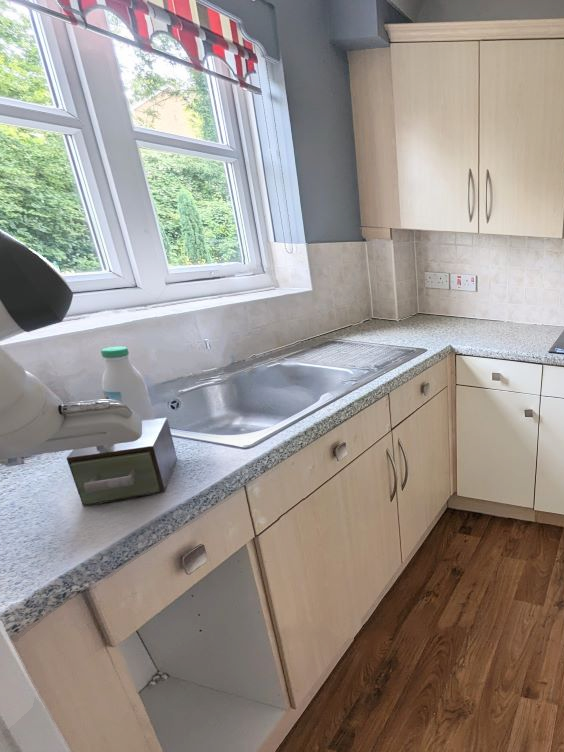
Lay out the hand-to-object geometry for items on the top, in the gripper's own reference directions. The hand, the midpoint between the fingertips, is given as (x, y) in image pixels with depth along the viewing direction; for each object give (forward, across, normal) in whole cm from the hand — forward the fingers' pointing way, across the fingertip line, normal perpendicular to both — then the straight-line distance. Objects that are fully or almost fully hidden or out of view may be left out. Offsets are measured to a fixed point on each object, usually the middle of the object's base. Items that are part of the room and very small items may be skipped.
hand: (64, 453), depth 64 cm
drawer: (+25, 0, -2) cm, 25 cm away
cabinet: (+28, 0, -5) cm, 28 cm away
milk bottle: (+49, +5, -25) cm, 55 cm away
